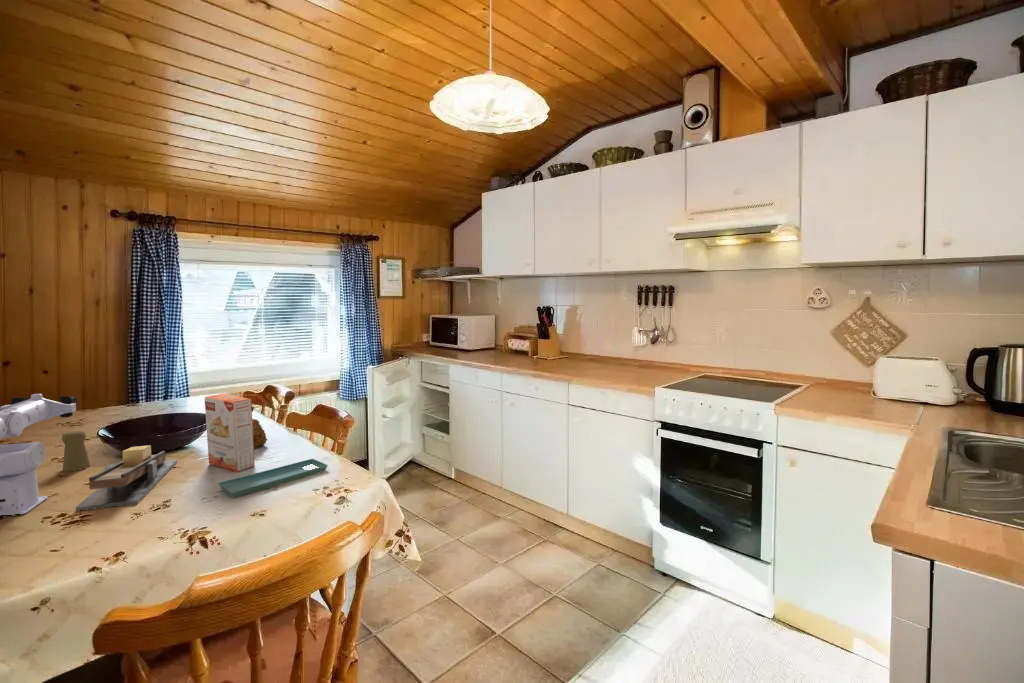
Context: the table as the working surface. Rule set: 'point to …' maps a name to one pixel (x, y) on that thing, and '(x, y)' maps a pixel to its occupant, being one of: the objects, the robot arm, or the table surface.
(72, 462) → the olive green shaker
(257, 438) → the stuffed squirrel
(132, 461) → the brass block
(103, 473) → the walnut beam
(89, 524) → the table surface
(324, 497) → the table surface
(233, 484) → the rectangular tray
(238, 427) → the cracker box
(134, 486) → the pivot stand
